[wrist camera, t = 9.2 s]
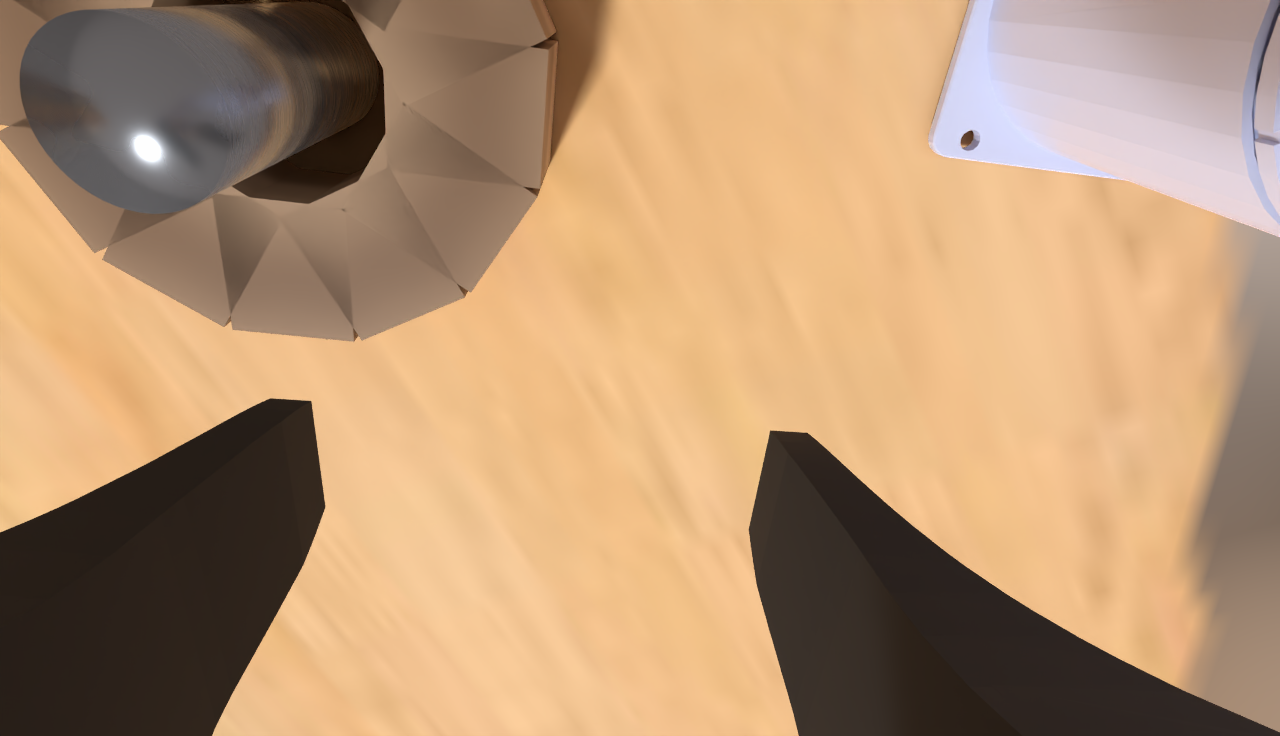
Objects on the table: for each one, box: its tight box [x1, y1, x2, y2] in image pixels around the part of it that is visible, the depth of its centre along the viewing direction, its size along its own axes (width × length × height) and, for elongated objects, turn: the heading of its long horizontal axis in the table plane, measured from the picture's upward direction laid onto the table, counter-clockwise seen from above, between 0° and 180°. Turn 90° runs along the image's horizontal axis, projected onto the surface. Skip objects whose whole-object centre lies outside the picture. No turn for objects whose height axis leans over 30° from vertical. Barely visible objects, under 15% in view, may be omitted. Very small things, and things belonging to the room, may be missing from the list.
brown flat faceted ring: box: [0, 0, 558, 342], centre depth 17 cm, size 12×12×3 cm
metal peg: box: [20, 2, 379, 214], centre depth 15 cm, size 3×3×8 cm
